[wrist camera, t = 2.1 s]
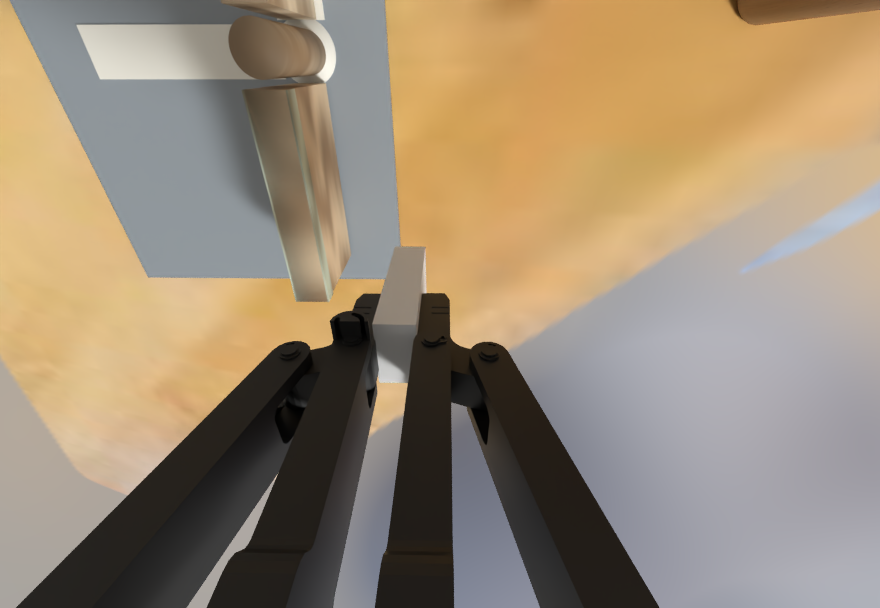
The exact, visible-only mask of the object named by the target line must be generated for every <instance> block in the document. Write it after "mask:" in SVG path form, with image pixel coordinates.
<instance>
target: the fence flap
mask: <svg viewBox="0 0 880 608" xmlns="http://www.w3.org/2000/svg"><path fill="white" fill-rule="evenodd" d="M242 94H243V98H244V102H245V106H246V110H247V114H248V118H249V121H250V125H251V129H252V133H253V137H254V141H255V145H256V149H257V152H258V156H259V160H260V164H261V168H262V172H263V176H264V180H265V183H266V187H267V191H268V195H269V199H270V203H271V207H272V211H273V214H274V218H275V222H276V226H277V230H278V234H279V238H280V242H281V245H282V249H283V253H284V257H285V261H286V265H287V269H288V273H289V276H290V280H291V284H292V288H293V292H294V296H295V300H296V301H300V302H329V301H330V299H331V297H332V295H333V290H334V288H335V286H336V284H337V282H338V280H339V278H340V276H341V274H342V272H343V270H344V268H345V266H346V264H347V262H348V260H349V258H350V256H351V250H350V243H349V236H348V230H347V223H346V216H345V209H344V202H343V196H342V189H341V182H340V175H339V168H338V162H337V155H336V148H335V141H334V134H333V128H332V121H331V114H330V107H329V100H328V94H327V87H326V83H292V84H284V85H277V86H269V87H261V88H254V89H244V90H242Z"/></svg>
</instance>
